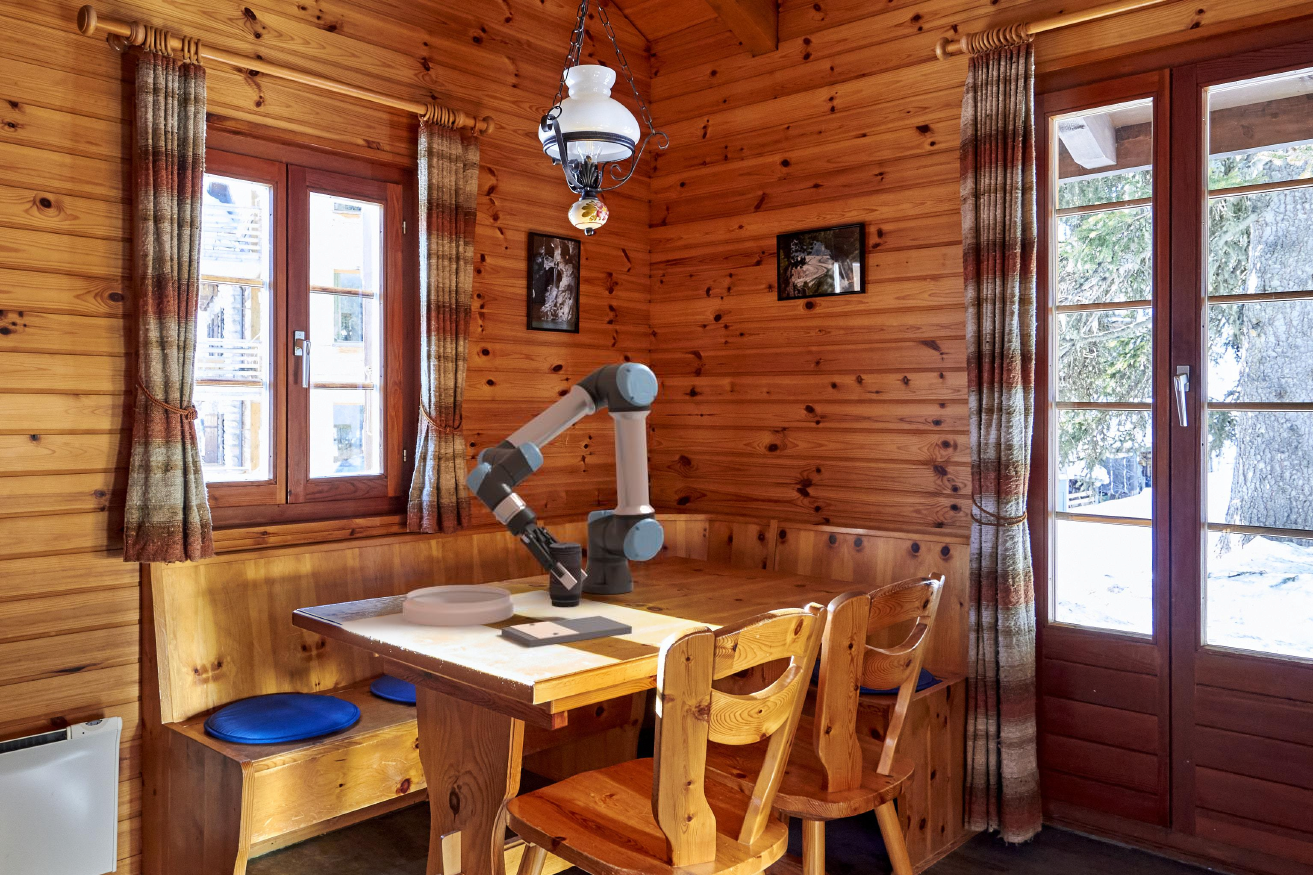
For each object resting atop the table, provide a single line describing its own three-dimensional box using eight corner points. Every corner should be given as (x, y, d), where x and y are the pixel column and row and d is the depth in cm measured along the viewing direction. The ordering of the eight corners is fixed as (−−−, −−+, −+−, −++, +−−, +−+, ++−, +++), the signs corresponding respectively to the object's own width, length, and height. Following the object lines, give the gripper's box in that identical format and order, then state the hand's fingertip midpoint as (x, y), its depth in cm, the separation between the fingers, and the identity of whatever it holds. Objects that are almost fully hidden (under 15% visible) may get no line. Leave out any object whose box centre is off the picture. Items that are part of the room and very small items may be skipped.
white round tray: (479, 631, 215) (479, 607, 214) (380, 621, 223) (380, 598, 223) (532, 609, 240) (532, 588, 240) (441, 601, 249) (441, 581, 249)
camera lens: (542, 604, 229) (542, 543, 229) (570, 600, 234) (570, 541, 234) (559, 610, 223) (559, 547, 223) (587, 606, 228) (588, 545, 227)
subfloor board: (599, 621, 225) (599, 614, 225) (631, 632, 214) (631, 624, 214) (501, 634, 210) (501, 626, 210) (530, 647, 199) (530, 638, 199)
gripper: (520, 521, 242) (579, 585, 239) (490, 531, 221) (554, 601, 218) (539, 501, 240) (599, 565, 238) (511, 509, 220) (576, 579, 217)
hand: (578, 582), depth 228 cm, fingers closed on camera lens, 8 cm apart
